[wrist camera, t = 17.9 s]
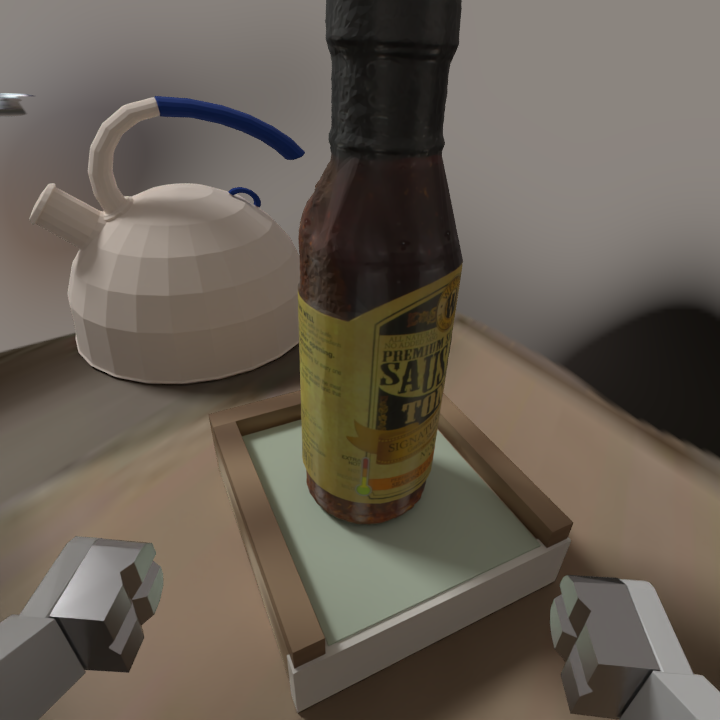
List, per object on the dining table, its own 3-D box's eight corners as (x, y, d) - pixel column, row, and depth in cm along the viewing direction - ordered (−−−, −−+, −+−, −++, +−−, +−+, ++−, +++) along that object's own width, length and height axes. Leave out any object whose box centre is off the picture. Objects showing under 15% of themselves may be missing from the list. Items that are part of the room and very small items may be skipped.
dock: (217, 468, 30) (206, 414, 28) (407, 411, 35) (412, 360, 32) (297, 713, 19) (291, 658, 17) (555, 580, 24) (577, 524, 22)
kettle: (78, 291, 50) (12, 84, 40) (282, 264, 56) (269, 81, 46) (63, 414, 34) (-53, 124, 24) (347, 356, 41) (349, 110, 31)
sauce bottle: (390, 556, 22) (440, -23, 11) (278, 494, 24) (224, -17, 13) (451, 464, 26) (530, -5, 15) (351, 420, 29) (357, -3, 18)
